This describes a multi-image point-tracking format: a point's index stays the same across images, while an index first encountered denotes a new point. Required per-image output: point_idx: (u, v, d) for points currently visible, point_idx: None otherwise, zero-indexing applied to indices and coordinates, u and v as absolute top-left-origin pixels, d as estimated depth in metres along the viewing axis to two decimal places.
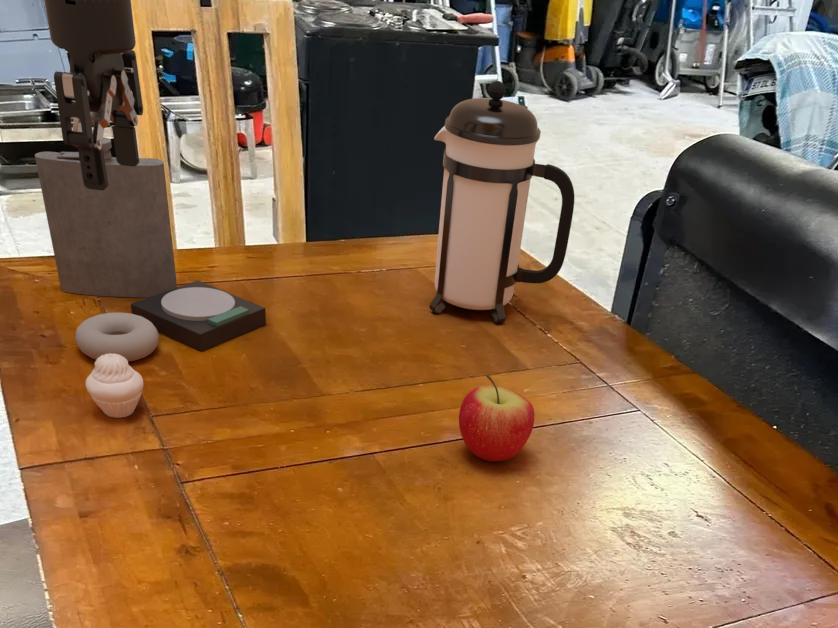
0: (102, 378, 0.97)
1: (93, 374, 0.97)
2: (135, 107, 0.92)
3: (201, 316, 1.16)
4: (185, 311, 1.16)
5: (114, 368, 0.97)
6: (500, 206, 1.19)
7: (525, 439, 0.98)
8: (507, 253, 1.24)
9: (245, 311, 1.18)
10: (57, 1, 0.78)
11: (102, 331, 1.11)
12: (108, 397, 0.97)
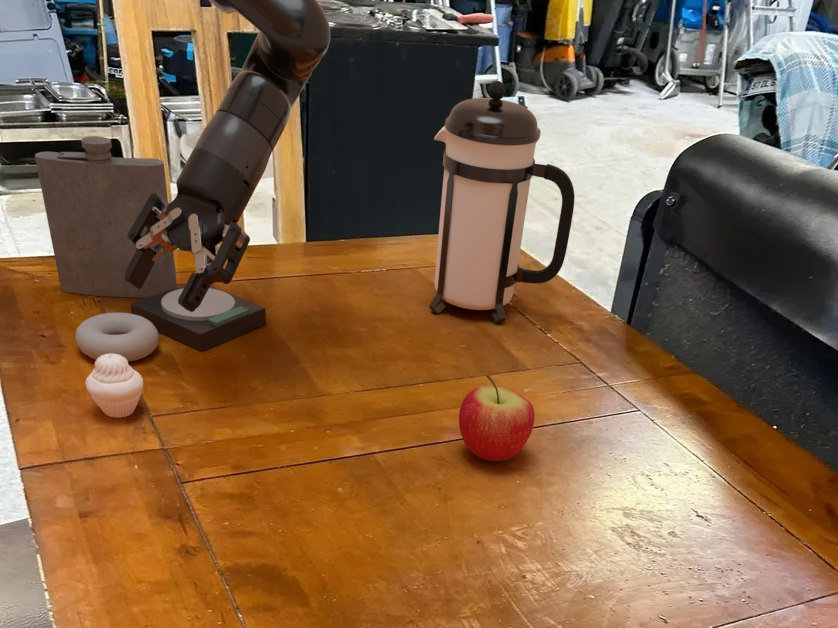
0: (102, 378, 0.97)
1: (93, 374, 0.97)
2: None
3: (201, 316, 1.16)
4: (185, 311, 1.16)
5: (114, 368, 0.97)
6: (500, 206, 1.19)
7: (525, 439, 0.98)
8: (507, 253, 1.24)
9: (245, 311, 1.18)
10: (238, 176, 0.97)
11: (102, 331, 1.11)
12: (108, 397, 0.97)
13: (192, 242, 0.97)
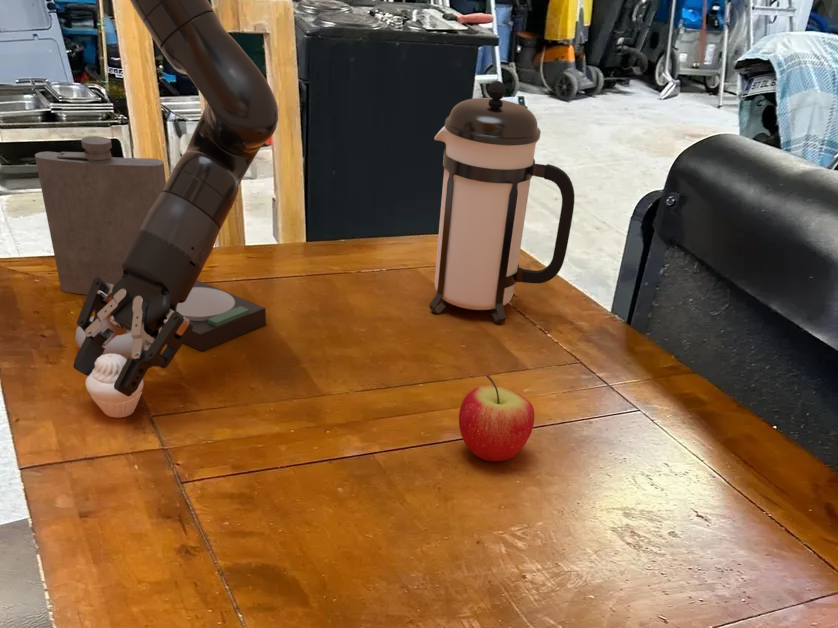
0: (102, 378, 0.97)
1: (93, 374, 0.97)
2: None
3: (201, 316, 1.16)
4: (185, 311, 1.16)
5: (114, 368, 0.97)
6: (500, 206, 1.19)
7: (525, 439, 0.98)
8: (507, 253, 1.24)
9: (245, 311, 1.18)
10: (183, 257, 0.95)
11: (102, 331, 1.11)
12: (108, 397, 0.97)
13: (133, 325, 0.95)
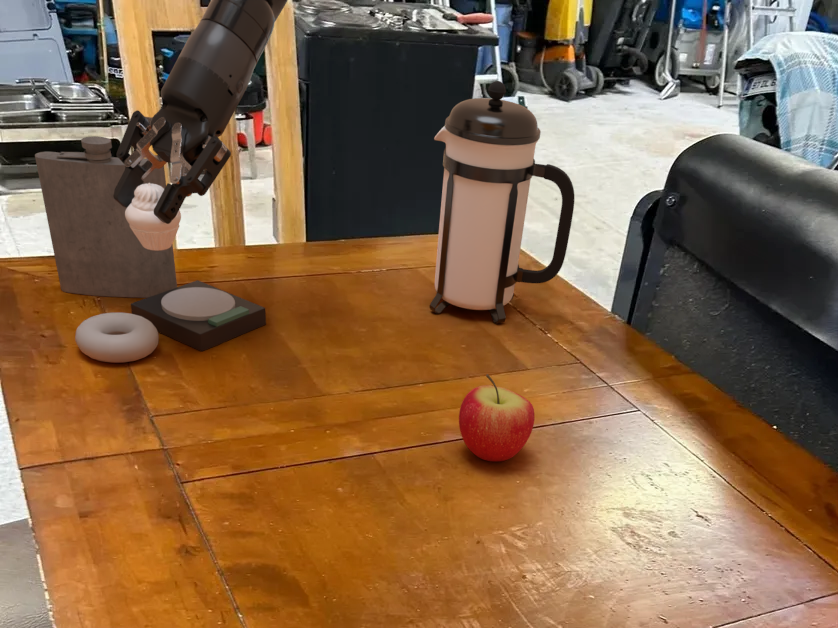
0: (142, 206, 0.99)
1: (133, 203, 1.00)
2: None
3: (201, 316, 1.16)
4: (185, 311, 1.16)
5: (153, 195, 0.99)
6: (500, 206, 1.19)
7: (525, 439, 0.98)
8: (507, 253, 1.24)
9: (245, 311, 1.18)
10: (222, 84, 0.97)
11: (102, 331, 1.11)
12: (147, 225, 0.99)
13: (172, 151, 0.98)
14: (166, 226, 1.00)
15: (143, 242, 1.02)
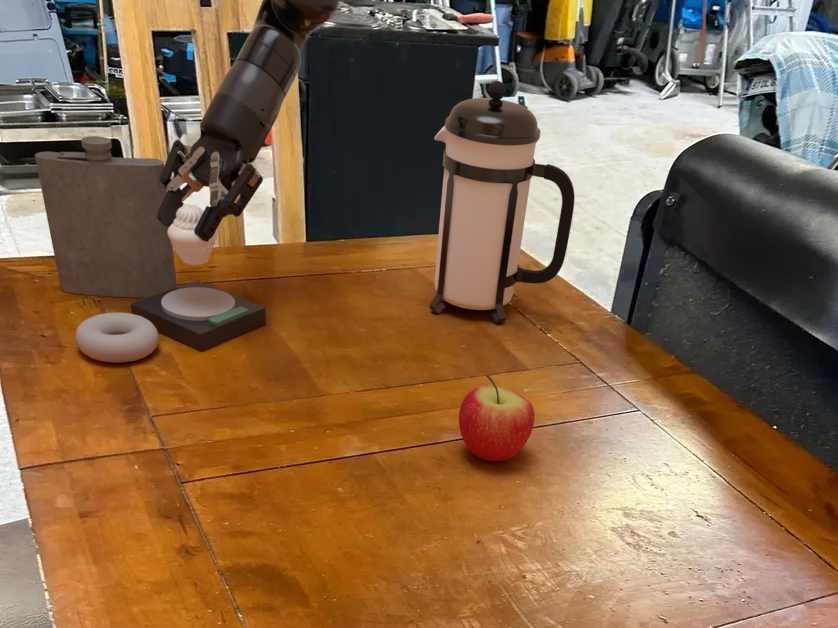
0: (183, 225, 1.11)
1: (175, 223, 1.11)
2: None
3: (201, 316, 1.16)
4: (185, 311, 1.16)
5: (194, 216, 1.11)
6: (500, 206, 1.19)
7: (525, 439, 0.98)
8: (507, 253, 1.24)
9: (245, 311, 1.18)
10: (255, 118, 1.09)
11: (102, 331, 1.11)
12: (188, 242, 1.11)
13: (210, 177, 1.09)
14: (204, 243, 1.12)
15: (183, 258, 1.14)
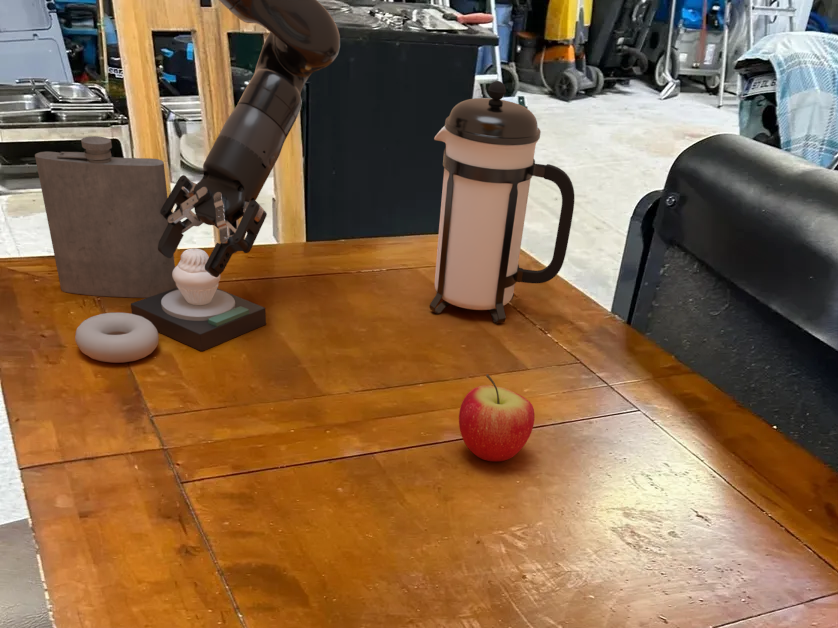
0: (188, 268, 1.14)
1: (179, 265, 1.15)
2: None
3: (201, 316, 1.16)
4: (185, 311, 1.16)
5: (198, 259, 1.14)
6: (500, 206, 1.19)
7: (525, 439, 0.98)
8: (507, 253, 1.24)
9: (245, 311, 1.18)
10: (257, 159, 1.12)
11: (102, 331, 1.11)
12: (192, 284, 1.15)
13: (217, 216, 1.12)
14: (208, 285, 1.15)
15: (187, 298, 1.17)
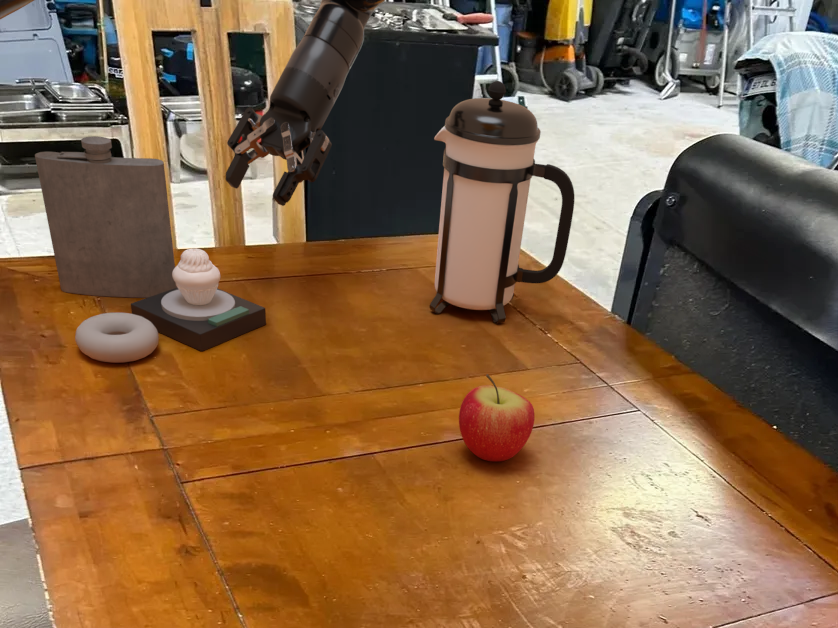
0: (188, 268, 1.14)
1: (179, 265, 1.15)
2: None
3: (201, 316, 1.16)
4: (185, 311, 1.16)
5: (198, 259, 1.14)
6: (500, 206, 1.19)
7: (525, 439, 0.98)
8: (507, 253, 1.24)
9: (245, 311, 1.18)
10: (322, 90, 1.16)
11: (102, 331, 1.11)
12: (192, 284, 1.15)
13: (284, 146, 1.16)
14: (208, 285, 1.15)
15: (187, 298, 1.17)
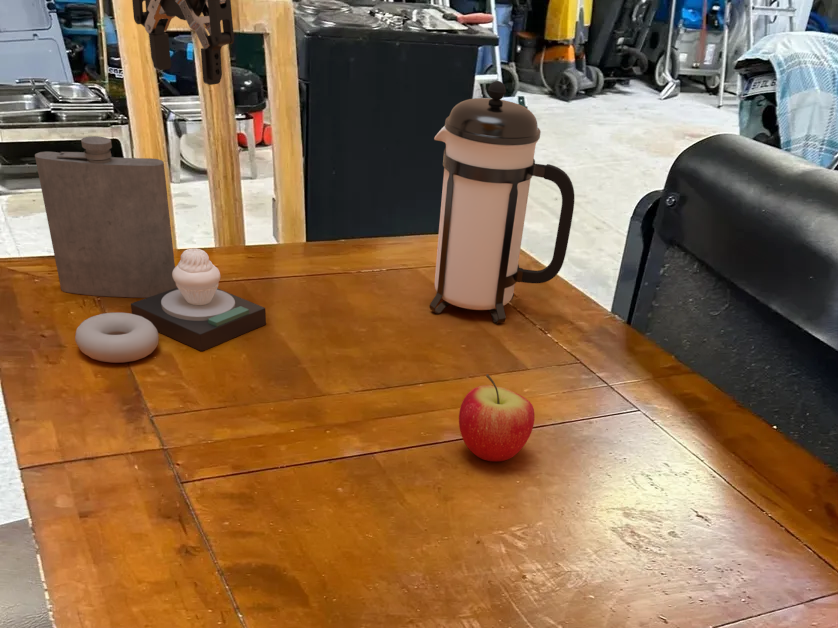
0: (188, 268, 1.14)
1: (179, 265, 1.15)
2: None
3: (201, 316, 1.16)
4: (185, 311, 1.16)
5: (198, 259, 1.14)
6: (500, 206, 1.19)
7: (525, 439, 0.98)
8: (507, 253, 1.24)
9: (245, 311, 1.18)
10: None
11: (102, 331, 1.11)
12: (192, 284, 1.15)
13: (186, 17, 1.02)
14: (208, 285, 1.15)
15: (187, 298, 1.17)
